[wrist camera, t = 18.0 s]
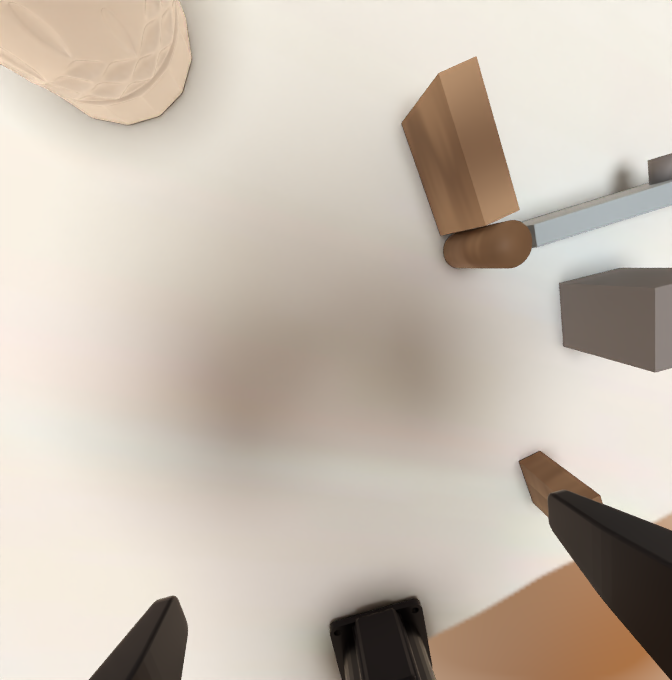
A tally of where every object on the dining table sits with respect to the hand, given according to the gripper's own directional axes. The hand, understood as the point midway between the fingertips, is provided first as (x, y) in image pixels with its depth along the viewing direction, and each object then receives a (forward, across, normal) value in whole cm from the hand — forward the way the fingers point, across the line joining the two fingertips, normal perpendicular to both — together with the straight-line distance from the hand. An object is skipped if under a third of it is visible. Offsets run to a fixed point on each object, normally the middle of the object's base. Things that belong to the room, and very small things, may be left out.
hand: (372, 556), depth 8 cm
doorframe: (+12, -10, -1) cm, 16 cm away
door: (+12, -17, -7) cm, 22 cm away
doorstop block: (+12, -17, -1) cm, 21 cm away
